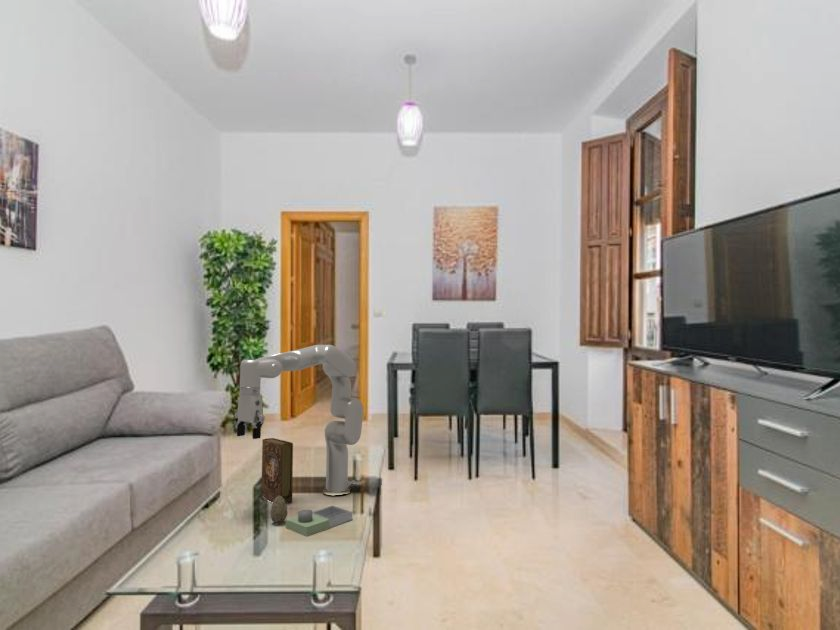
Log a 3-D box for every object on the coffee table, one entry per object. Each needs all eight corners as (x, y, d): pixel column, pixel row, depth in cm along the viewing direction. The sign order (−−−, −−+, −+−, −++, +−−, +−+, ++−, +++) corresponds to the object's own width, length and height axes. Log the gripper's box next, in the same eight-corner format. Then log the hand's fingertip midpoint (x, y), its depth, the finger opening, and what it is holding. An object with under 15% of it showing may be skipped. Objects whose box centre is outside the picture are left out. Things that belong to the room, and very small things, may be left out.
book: (259, 498, 220) (260, 439, 221) (271, 495, 224) (272, 437, 225) (280, 506, 208) (281, 444, 210) (292, 503, 212) (293, 442, 214)
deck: (308, 520, 192) (308, 504, 192) (329, 528, 184) (329, 511, 185) (285, 528, 184) (285, 511, 185) (306, 536, 177) (306, 518, 177)
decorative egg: (271, 527, 185) (272, 499, 186) (269, 522, 191) (269, 494, 191) (288, 524, 188) (288, 497, 188) (285, 519, 193) (285, 492, 194)
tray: (332, 513, 201) (332, 505, 201) (352, 520, 193) (352, 511, 193) (308, 521, 192) (308, 512, 192) (328, 528, 185) (328, 519, 185)
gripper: (272, 392, 195) (271, 438, 194) (244, 390, 205) (243, 433, 204) (255, 393, 189) (254, 441, 188) (228, 391, 199) (226, 435, 198)
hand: (248, 437), depth 196 cm, fingers open, 9 cm apart
